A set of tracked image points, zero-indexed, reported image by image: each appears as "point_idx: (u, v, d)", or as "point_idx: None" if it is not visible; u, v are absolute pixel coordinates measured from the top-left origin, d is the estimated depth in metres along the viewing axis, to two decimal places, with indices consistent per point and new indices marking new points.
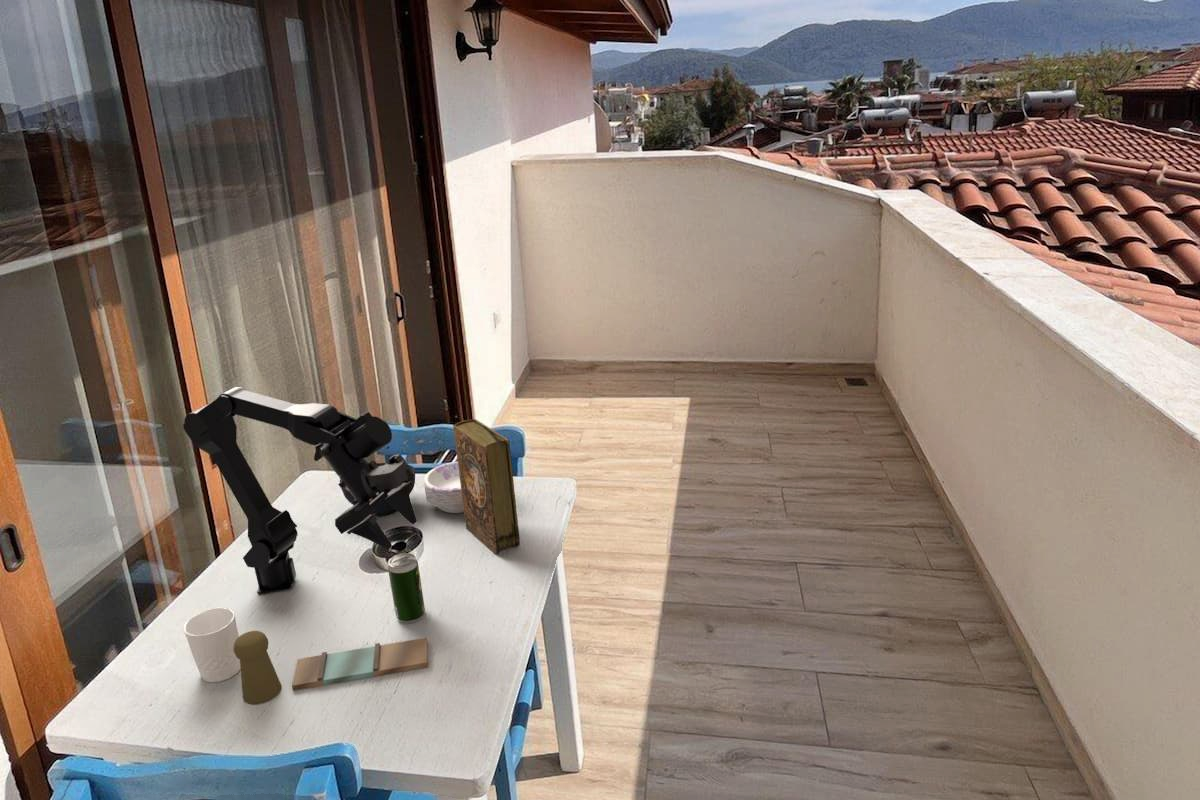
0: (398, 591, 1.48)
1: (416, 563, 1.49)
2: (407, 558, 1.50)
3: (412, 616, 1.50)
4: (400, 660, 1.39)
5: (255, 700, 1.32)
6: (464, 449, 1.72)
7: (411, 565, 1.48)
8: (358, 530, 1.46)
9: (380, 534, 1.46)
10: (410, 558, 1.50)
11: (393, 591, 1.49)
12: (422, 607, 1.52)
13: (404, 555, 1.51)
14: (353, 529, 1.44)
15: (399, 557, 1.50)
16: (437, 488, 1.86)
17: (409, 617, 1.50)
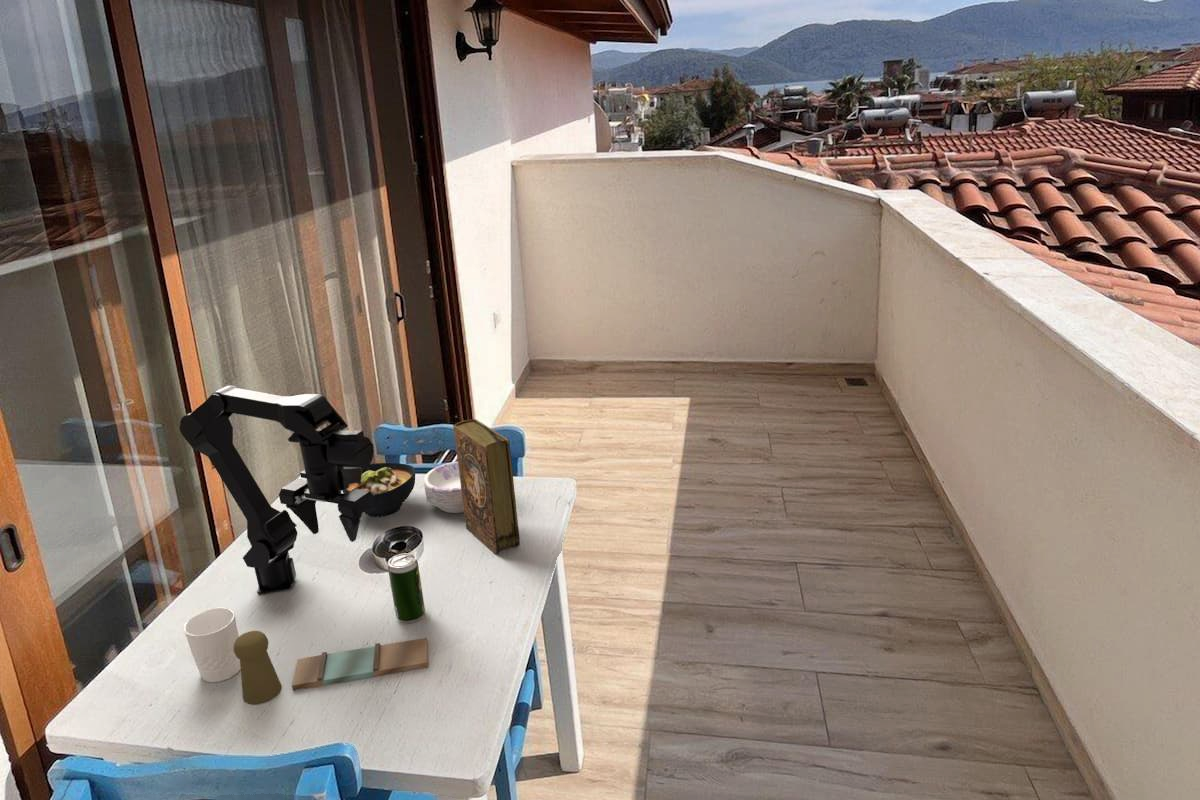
0: (398, 591, 1.48)
1: (416, 563, 1.49)
2: (407, 558, 1.50)
3: (412, 616, 1.50)
4: (400, 660, 1.39)
5: (255, 700, 1.32)
6: (464, 449, 1.72)
7: (411, 565, 1.48)
8: None
9: (358, 524, 1.54)
10: (410, 558, 1.50)
11: (393, 591, 1.49)
12: (422, 607, 1.52)
13: (404, 555, 1.51)
14: None
15: (399, 557, 1.50)
16: (437, 488, 1.86)
17: (409, 617, 1.50)
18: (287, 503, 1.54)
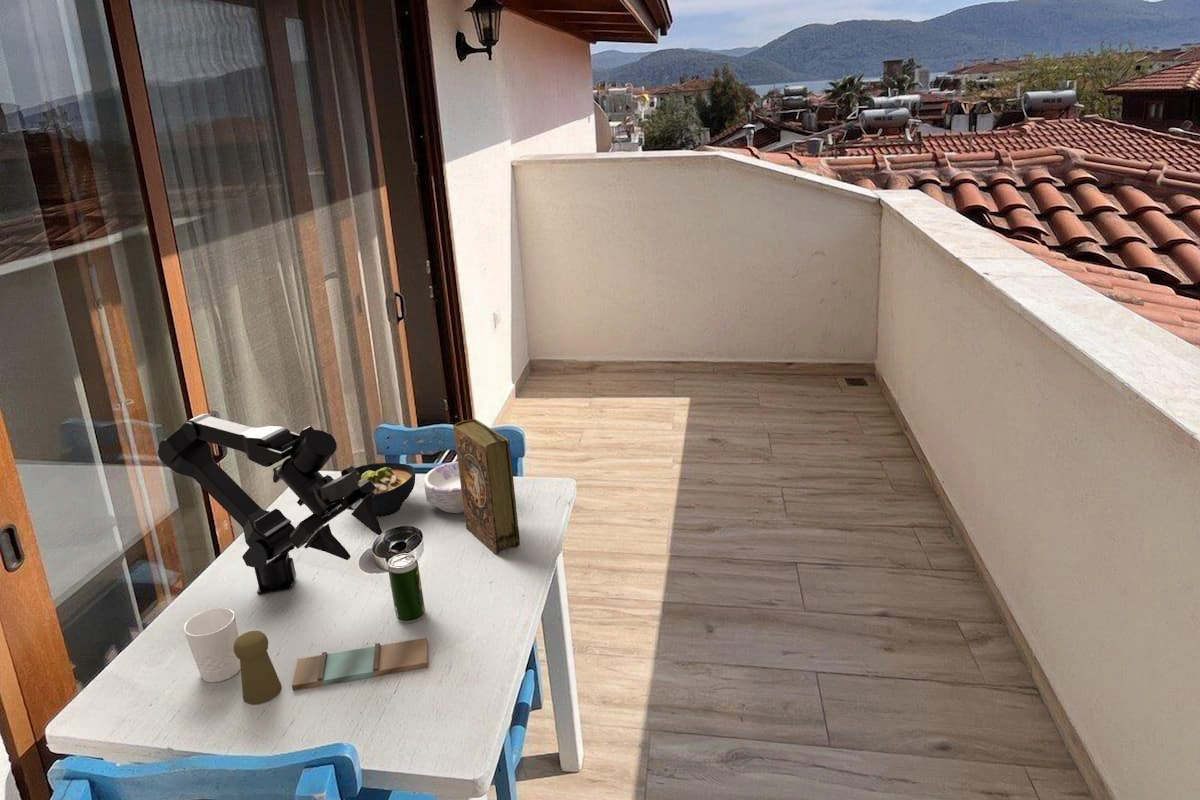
0: (398, 591, 1.48)
1: (416, 563, 1.49)
2: (407, 558, 1.50)
3: (412, 616, 1.50)
4: (400, 660, 1.39)
5: (255, 700, 1.32)
6: (464, 449, 1.72)
7: (411, 565, 1.48)
8: (315, 544, 1.47)
9: (336, 545, 1.46)
10: (410, 558, 1.50)
11: (393, 591, 1.49)
12: (422, 607, 1.52)
13: (404, 555, 1.51)
14: (308, 543, 1.45)
15: (399, 557, 1.50)
16: (437, 488, 1.86)
17: (409, 617, 1.50)
18: None
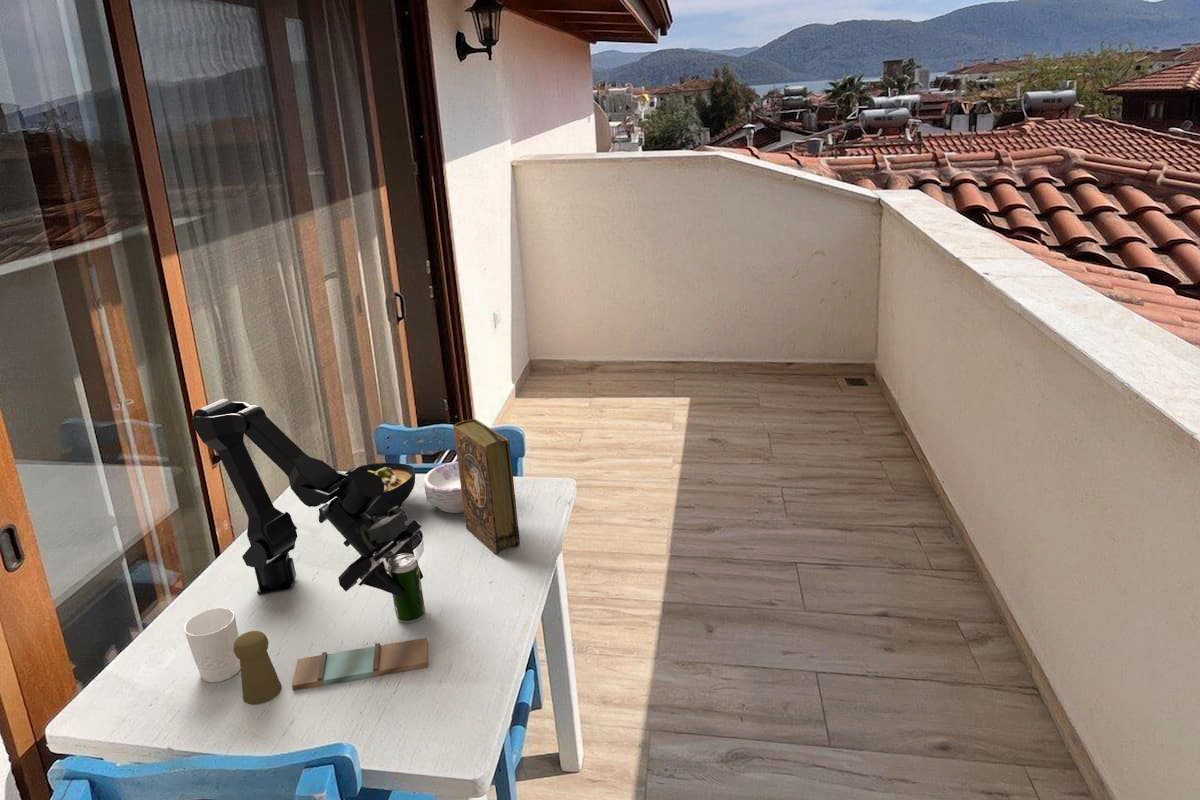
0: None
1: (416, 563, 1.49)
2: (407, 558, 1.50)
3: (412, 616, 1.50)
4: (400, 660, 1.39)
5: (255, 700, 1.32)
6: (464, 449, 1.72)
7: (411, 565, 1.48)
8: (369, 581, 1.47)
9: (390, 583, 1.47)
10: (410, 558, 1.50)
11: None
12: (422, 607, 1.52)
13: (404, 555, 1.51)
14: (363, 580, 1.46)
15: (399, 557, 1.50)
16: (437, 488, 1.86)
17: (409, 617, 1.50)
18: None
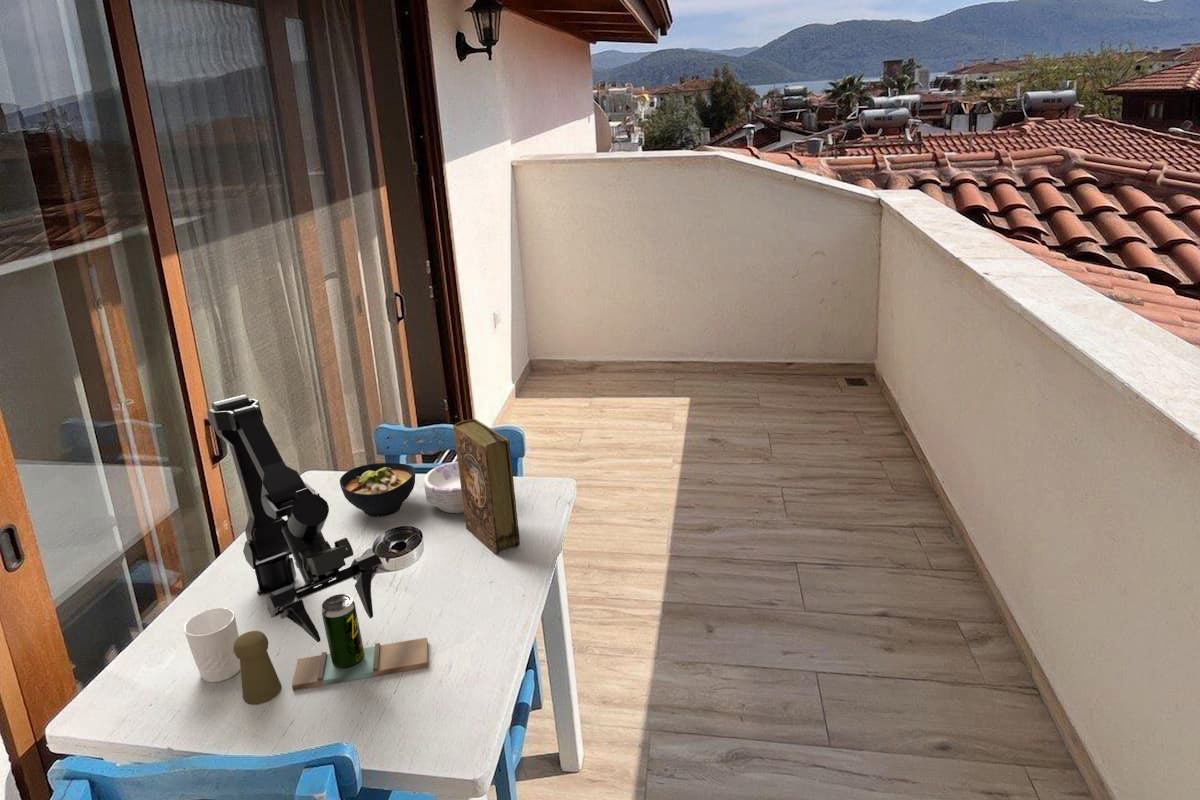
0: (328, 634, 1.35)
1: (349, 610, 1.35)
2: (345, 601, 1.36)
3: (342, 664, 1.37)
4: (400, 660, 1.39)
5: (255, 700, 1.32)
6: (464, 449, 1.72)
7: (340, 611, 1.34)
8: (292, 616, 1.35)
9: (306, 624, 1.33)
10: (346, 602, 1.36)
11: (326, 633, 1.37)
12: (356, 657, 1.37)
13: (344, 597, 1.37)
14: (281, 614, 1.34)
15: (338, 598, 1.37)
16: (437, 488, 1.86)
17: (339, 665, 1.37)
18: None
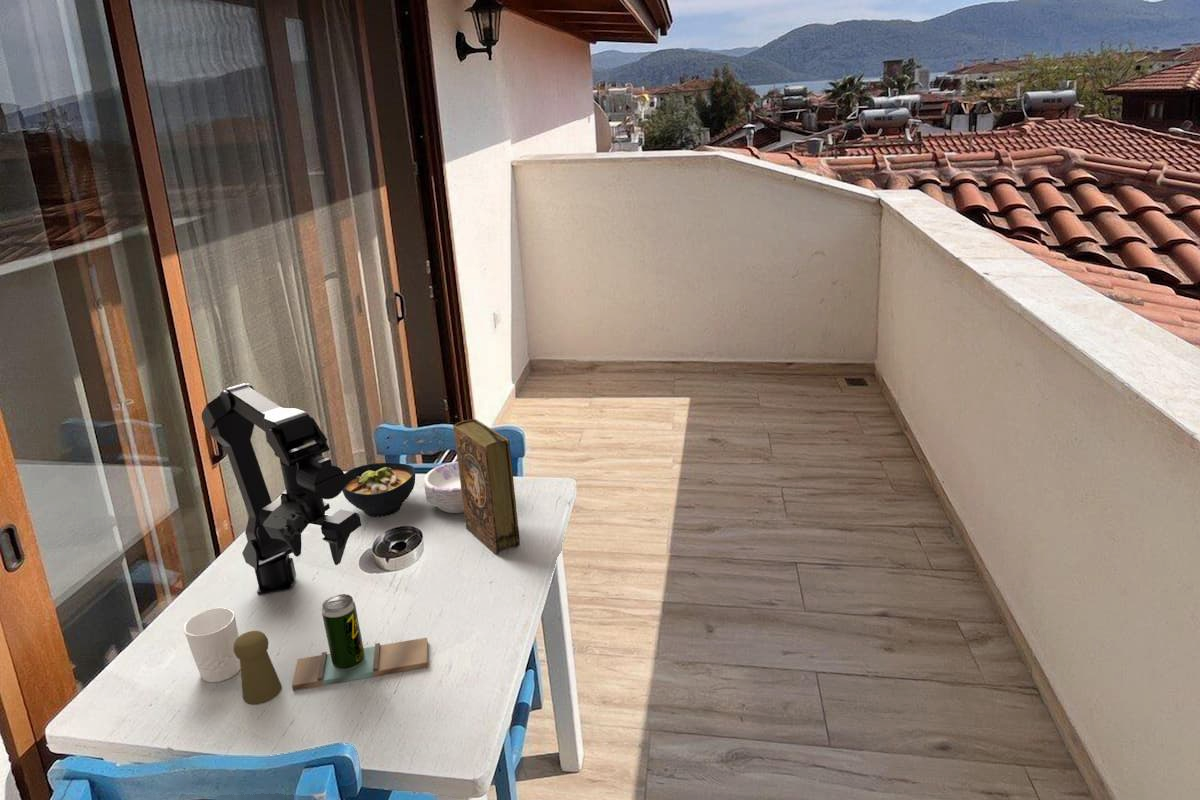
0: (328, 634, 1.35)
1: (349, 610, 1.35)
2: (345, 601, 1.36)
3: (342, 664, 1.37)
4: (400, 660, 1.39)
5: (255, 700, 1.32)
6: (464, 449, 1.72)
7: (340, 611, 1.34)
8: None
9: (287, 542, 1.49)
10: (347, 602, 1.36)
11: (326, 633, 1.37)
12: (356, 657, 1.37)
13: (345, 597, 1.37)
14: None
15: (338, 598, 1.37)
16: (437, 488, 1.86)
17: (339, 665, 1.37)
18: None
